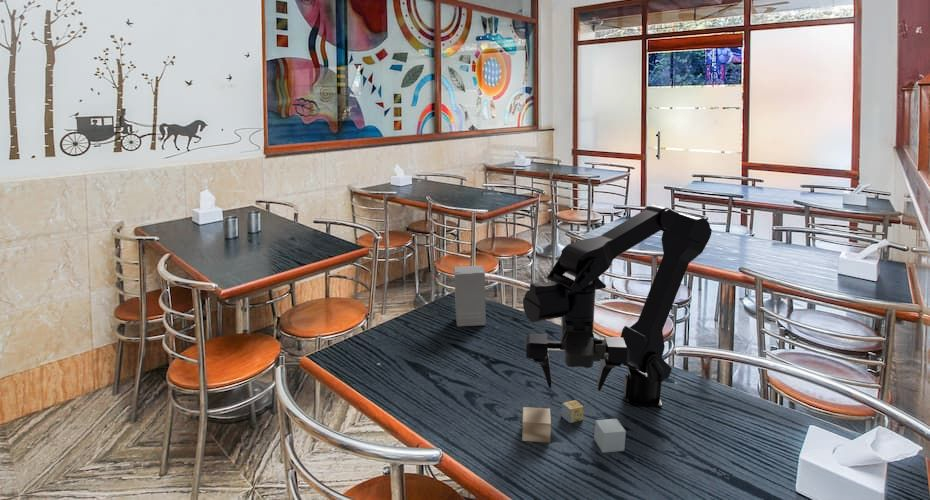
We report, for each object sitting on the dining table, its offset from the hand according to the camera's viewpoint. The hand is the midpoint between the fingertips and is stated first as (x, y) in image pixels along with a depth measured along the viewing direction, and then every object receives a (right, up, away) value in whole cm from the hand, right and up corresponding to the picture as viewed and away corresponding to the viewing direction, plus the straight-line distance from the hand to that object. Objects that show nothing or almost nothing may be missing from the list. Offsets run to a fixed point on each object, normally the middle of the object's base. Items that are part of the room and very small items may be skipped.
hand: (574, 388), depth 105 cm
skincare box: (-20, +6, +48) cm, 52 cm away
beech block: (-8, -8, -3) cm, 11 cm away
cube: (+5, -9, -7) cm, 12 cm away
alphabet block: (0, -6, +2) cm, 7 cm away
